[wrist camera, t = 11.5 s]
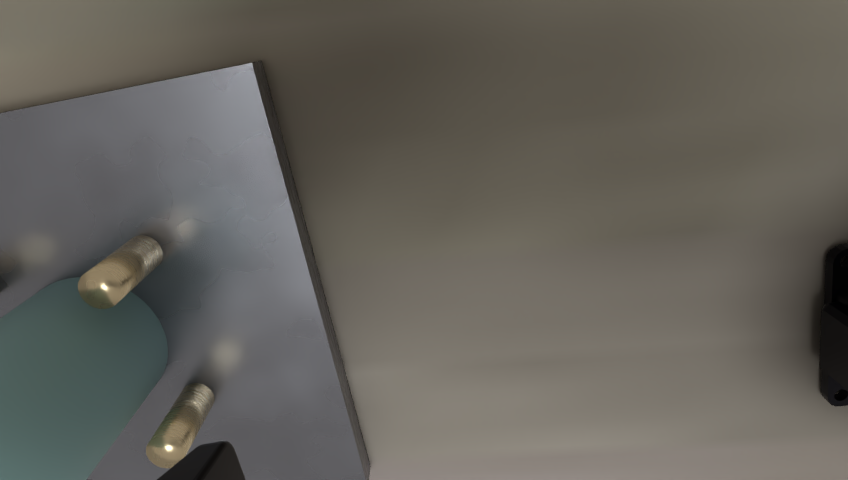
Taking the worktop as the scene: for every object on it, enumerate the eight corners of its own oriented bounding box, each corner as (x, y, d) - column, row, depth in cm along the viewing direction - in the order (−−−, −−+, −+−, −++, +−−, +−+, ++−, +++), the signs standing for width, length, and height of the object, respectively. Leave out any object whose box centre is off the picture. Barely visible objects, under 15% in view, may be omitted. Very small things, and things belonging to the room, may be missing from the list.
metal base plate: (261, 60, 19) (221, 69, 15) (370, 466, 24) (361, 551, 20) (-208, 154, 20) (-363, 186, 16) (-5, 527, 25) (-84, 620, 21)
